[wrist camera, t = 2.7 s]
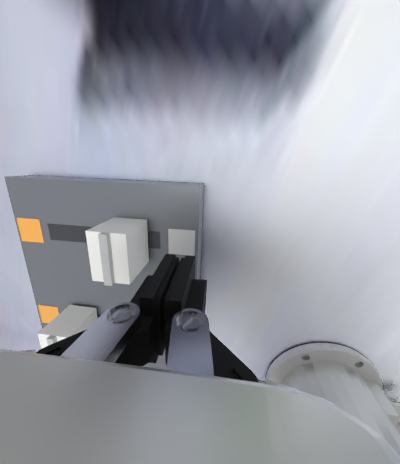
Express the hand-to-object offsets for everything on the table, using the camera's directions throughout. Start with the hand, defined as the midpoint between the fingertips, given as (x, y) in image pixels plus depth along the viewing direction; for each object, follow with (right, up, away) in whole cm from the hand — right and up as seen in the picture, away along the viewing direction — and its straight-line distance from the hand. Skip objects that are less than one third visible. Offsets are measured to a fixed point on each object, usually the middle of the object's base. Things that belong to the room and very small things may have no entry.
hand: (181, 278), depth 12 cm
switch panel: (-8, -6, +14) cm, 17 cm away
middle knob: (-11, -7, +11) cm, 18 cm away
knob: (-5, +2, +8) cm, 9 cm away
